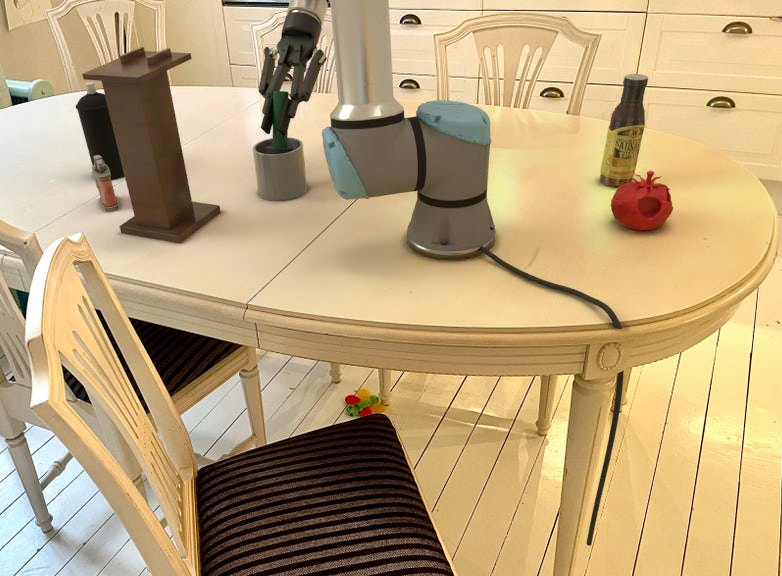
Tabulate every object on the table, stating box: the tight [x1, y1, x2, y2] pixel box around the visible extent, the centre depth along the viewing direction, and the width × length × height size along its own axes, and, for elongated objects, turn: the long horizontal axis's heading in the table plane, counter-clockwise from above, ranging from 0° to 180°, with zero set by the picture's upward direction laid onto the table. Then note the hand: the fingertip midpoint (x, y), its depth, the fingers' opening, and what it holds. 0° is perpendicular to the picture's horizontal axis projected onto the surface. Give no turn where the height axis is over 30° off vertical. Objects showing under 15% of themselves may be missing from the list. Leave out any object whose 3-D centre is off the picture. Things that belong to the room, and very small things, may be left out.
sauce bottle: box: [599, 73, 649, 188], centre depth 138 cm, size 6×6×20 cm
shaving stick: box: [266, 90, 293, 154], centre depth 148 cm, size 17×5×5 cm
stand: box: [81, 46, 222, 244], centre depth 136 cm, size 15×14×31 cm
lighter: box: [91, 155, 119, 212], centre depth 152 cm, size 8×3×10 cm, turn 22°
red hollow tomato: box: [610, 170, 674, 231], centre depth 127 cm, size 10×10×9 cm
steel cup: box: [252, 136, 308, 202], centre depth 150 cm, size 10×10×10 cm
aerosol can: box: [75, 81, 125, 181], centre depth 163 cm, size 8×8×20 cm
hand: (273, 131), depth 145 cm, fingers closed on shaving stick, 3 cm apart
